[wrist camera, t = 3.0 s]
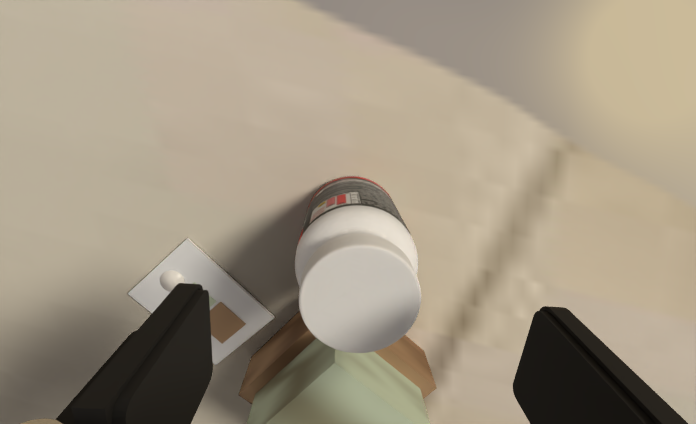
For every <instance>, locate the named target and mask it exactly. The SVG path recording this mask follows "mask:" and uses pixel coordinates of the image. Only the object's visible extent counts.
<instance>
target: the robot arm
mask: <svg viewBox="0 0 696 424" xmlns="http://www.w3.org/2000/svg"><path fill="white" fill-rule="evenodd" d="M212 370H213V362H212V343H211V323H210V304H209V292H208V291H207V290H203V288H202V285H200V284H187V283H179V284H177V285H176V286H175V287H174V289H173V290H172V291H171V292H170V293H169V294H168V296H167V297H166V298H165V299H164V300H163V301H162V303H161V304H160V305H159V306H158V307H157V308H156V310H155V311H154V312H153V313H152V314H151V315H150V317H149V318H148V319H147V320H146V321H145V322H144V323H143V325H142V326H141V327H140V328H139V329H138V330H137V331H134V332H133V333H132V334H131V335H129V336H128V338H127V339H126V340H125V341H124V342H123V343H122V344H121V346H120V347H119V348H118V349H117V350H116V351H115V352H114V354H113V355H112V356H111V357H110V358H109V359H108V360H107V361H106V363H105V364H104V365H103V366H102V367H101V368H100V369H99V371H98V372H97V373H96V374H95V375H94V376H93V377H92V379H91V380H90V381H89V382H88V383H87V384H86V385H85V387H84V388H83V389H82V390H81V391H80V392H79V393H78V395H77V396H76V397H75V398H74V399H73V400H72V401H71V403H70V404H69V405H68V406H67V407H66V408H65V409H64V411H63V412H62V413H61V414H60V415H59V416H58V417H57V419H56V420H54V419H46V418H43V419H35V420H29V421H26V422H23V423H20V424H191V422H192V420H193V417H194V415H195V413H196V411H197V409H198V406H199V404H200V402H201V400H202V398H203V395H204V393H205V391H206V389H207V387H208V384H209V382H210V380H211V376H212ZM513 392H514V395H515V397H516V399H517V401H518V403H519V405H520V406H521V408H522V410H523V412H524V413H525V415H526V417H527V418H528V420H529V422H530V424H688V423H687V422H686V421H685V420H684V419H683V418H682V417H681V416H680V415H679V414H678V413H676V412H675V411H674V410H673V409H672V408H671V407H670V406H669V405H668V404H667V403H666V402H665V401H664V400H663V399H662V398H661V397H660V396H659V395H658V394H656V393H655V392H654V391H653V390H652V389H651V388H650V387H649V386H648V385H647V384H646V383H645V382H644V381H643V380H642V379H641V378H640V377H639V376H637V375H636V374H635V373H634V372H633V371H632V370H631V369H630V368H629V367H628V366H627V365H626V364H625V363H624V362H623V361H622V360H621V359H620V358H619V357H617V356H616V355H615V354H614V353H613V352H612V351H611V350H610V349H609V348H608V347H607V346H606V345H605V344H604V343H603V342H602V341H601V340H600V339H599V338H597V337H596V336H595V335H594V334H593V333H592V332H591V331H590V330H589V329H588V328H587V327H586V326H585V325H584V324H583V323H582V322H581V321H580V320H579V319H577V318H576V317H575V316H574V315H573V314H572V313H571V312H570V311H569V310H568V309H566V308H561V307H546V306H545V307H542V308H541V309H540V311H537V312H536V313H535V314H534V317H533V320H532V323H531V327H530V330H529V333H528V336H527V340H526V343H525V346H524V350H523V353H522V356H521V359H520V363H519V366H518V369H517V372H516V376H515V379H514V382H513Z"/></svg>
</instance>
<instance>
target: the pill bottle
mask: <svg viewBox="0 0 696 424" xmlns="http://www.w3.org/2000/svg"><path fill="white" fill-rule="evenodd" d="M417 271H418V255H417V250H416V247H415V244H414V241H413V239H412V237H411V234H410V232H409V230H408V229H407V227H406V225H405V223H404V222H403V220H402V218H401V216H400V214H399V212H398V210H397V209H396V207H395V205H394V203H393V201H392V199H391V197H390V196H389V194H388V193H387V192H386V191H385V190H384V189H383V188H382V187H381V186H380V185H378V184H377V183H375V182H374V181H372V180H369V179H367V178H363V177H359V176H345V177H340V178H337V179H334V180H332V181H330V182H328V183H326V184H325V185H324V186H322V187H321V188H320V189H319V190H318V191H317V192H316V194H315V195H314V196H313V198H312V200H311V202H310V204H309V206H308V210H307V213H306V217H305V220H304V224H303V227H302V231H301V235H300V238H299V242H298V246H297V249H296V254H295V273H296V278H297V281H298V284H299V287H300V290H299V309H300V313H301V316H302V319H303V321H304V323H305V325H306V326H307V328H308V329H309V331H310V332H311V333H312V334H313V335H314V336H315V337H316V338H317V339H318V340H320V341H321V342H322V343H324V344H326V345H327V346H329V347H331V348H334V349H336V350H340V351H344V352H350V353H367V352H373V351H377V350H380V349H383V348H386V347H388V346H390V345H391V344H393V343H395V342H396V341H398V340H399V339H400V338H402V337H403V336H404V335H405V334H406V333H407V332H408V330H409V329H410V328H411V327H412V325H413V324H414V321H415V320H416V317H417V315H418V313H419V309H420V304H421V289H420V284H419V281H418V278H417Z"/></svg>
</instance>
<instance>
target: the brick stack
mask: <svg viewBox="0 0 696 424" xmlns="http://www.w3.org/2000/svg"><path fill="white" fill-rule="evenodd" d="M435 389H436V385H435V382H434V379H433V376H432V373H431V370H430V367H429V364H428V362H427V359H426V356H425V353H424V351H423V350H422V349H421V348H420V347H419V346H417V345H416V344H415V343H414V342H413V341H411V340H410V339H409V338H408V337H407V336H405V335H404V336H403V337H402V338H400V339H399V340H398V341H396V342H395V343H393V344H391V345H390V346H388V347H386V348H383V349H380V350H377V351H373V352H367V353H350V352H344V351H340V350H336V349H334V348H331V347H329V346H327V345H326V344H324V343H322V342H321V341H320V340H318V339H317V338H316V337H315V336H314V335H313V334H312V333H311V332H310V331H309V329H308V328H307V326H306V325H305V323H304V321H303V319H302V316H301V313H300V311H299V312H298V313H297V314H296V315H295V316H294V317H293V318H292V319H291V320H290V321H289V322H288V323H286V324H285V325H284V326H283V327H282V328H281V329H280V330H279V331H278V332H277V333H276V334H275V335H274V336H273V337H272V338H271V339H270V340H269V341H268V342H267V343H266V344H265V345H263V346H262V347H261V348H260V349H259V350H258V351H257V352H256V353H255V354H254V355H253V356H252V357H251V360H250V363H249V366H248V369H247V372H246V375H245V378H244V380H243V383H242V386H241V389H240V392H239V396H241V397H242V398H244V399H245V400H247V401H248V402H250V403H251V404H252V407H251V410H250V414H249V417H248V421H247V424H430V421H429V418H428V414H427V411H426V407H425V404H424V400H423V399H424V398H425V397H426V396H427V395H429V394H430V393H431V392H432V391H434V390H435Z"/></svg>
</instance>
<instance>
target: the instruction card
mask: <svg viewBox="0 0 696 424" xmlns="http://www.w3.org/2000/svg"><path fill="white" fill-rule="evenodd" d="M179 283H187V284H200V285H202V288H203V290H207V291H208V292H209V304H210V323H211V343H212V362H213V363H214V364H215V365H217V364H218V363H219V362H221V361H222V360H223V359H224V358H226V357H227V356H228V355H229V354H230V353H232V352H233V351H234V350H235V349H237V348H238V347H239V346H240V345H242V344H243V343H244V342H245V341H247V340H248V339H249V338H250V337H252V336H253V335H254V334H255V333H256V332H258V331H259V330H260V329H261V328H263V327H264V326H265V325H266V324H268V323H269V322H270V321H271V320H273V319H274V318H275V316H274V315H273V314H272V313H271V312H269V311H268V310H267V309H266V308H265V307H264V306H263V305H262V304H261V303H260V302H258V301H257V300H256V299H255V298H254V297H253V296H252V295H251V294H250V293H249V292H247V291H246V290H245V289H244V288H243V287H242V286H241V285H240V284H239V283H237V282H236V281H235V280H234V279H233V278H232V277H231V276H230V275H229V274H228V273H226V272H225V271H224V270H223V269H222V268H221V267H220V266H219V265H218V264H216V263H215V262H214V261H213V260H212V259H211V258H210V257H209V256H208V255H207V254H205V253H204V252H203V251H202V250H201V249H200V248H199V247H198V246H197V245H195V244H194V243H193V242H192V241H191V240H190V239H189V238H187V239H186V240H185V241H184V242H183V243H182V244H181V245H179V246H178V247H177V248H176V249H175V250H174V251H173V252H172V253H171V254H170V255H169V256H168V257H166V258H165V259H164V260H163V261H162V262H161V263H160V264H159V265H158V266H157V267H156V268H155V269H154V270H152V271H151V272H150V273H149V274H148V275H147V276H146V277H145V278H144V279H143V280H142V281H141V282H139V283H138V284H137V285H136V286H135V287H134V288H133V289H132V290H131V291H130V292H129V293H128V294H129V295H130V296H131V297H132V298H133V299H135V300H136V301H137V302H138V303H140V304H141V305H142V306H143V307H145V308H146V309H147V310H148V311H150V312H151V313H153V312H154V311H155V310H156V308H157V307H158V306H159V305H160V304H161V303H162V301H163V300H164V299H165V298H166V297H167V296H168V294H169V293H170V292H171V291H172V290H173V289H174V287H175V286H176V285H177V284H179Z"/></svg>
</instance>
